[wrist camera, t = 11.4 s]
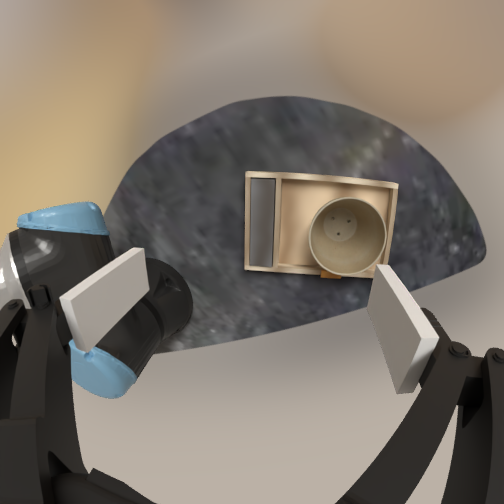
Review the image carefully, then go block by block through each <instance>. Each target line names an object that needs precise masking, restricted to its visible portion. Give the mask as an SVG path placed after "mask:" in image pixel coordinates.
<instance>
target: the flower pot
mask: <svg viewBox="0 0 504 504" xmlns="http://www.w3.org/2000/svg"><path fill="white" fill-rule="evenodd" d="M332 219H333V220H332ZM348 220H349V221H348ZM339 233H340V235H339ZM386 238H387V231H386V225H385V222H384V219H383V217H382V215H381V214H380V212H379V211H378V210H377V209H376V208H375V207H374V206H373V205H372V204H370V203H369V202H367V201H365V200H363V199H360V198H355V197H341V198H336V199H334V200H331V201H329V202H328V203H326V204H325V205H323V206H322V207H321V208H320V209H319V210H318V212H317V213H316V214H315V216H314V218H313V220H312V222H311V225H310V229H309V247H310V250H311V253H312V255H313V257H314V259H315V260H316V261H317V263H318V264H319V265H320V266H321V267H323V268H324V269H325V270H327V271H329V272H331V273H333V274H337V275H343V276H348V275H355V274H358V273H361V272H363V271H365V270H367V269H369V268H370V267H371V266H372V265H374V264H375V263H376V261H377V260H378V259H379V258H380V256H381V254H382V252H383V250H384V248H385V244H386Z"/></svg>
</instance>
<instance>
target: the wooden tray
mask: <svg viewBox="0 0 504 504" xmlns="http://www.w3.org/2000/svg"><path fill="white" fill-rule="evenodd" d="M397 194H398V184H396V183H393V182H385V181H377V180H369V179H360V178H351V177H341V176H330V175H317V174H302V173H284V172H259V171H247V172H246V183H245V270H257V271H271V272H285V273H299V274H314V275H321V278H337V279H341V276H343V275H337V274H333V273H331V272H329V271H327V270H325V269H324V268H323V267H321V266H320V265H319V264H318V263H317V261H316V260H315V259H314V257H313V255H312V253H311V250H310V247H309V229H310V225H311V222H312V220H313V218H314V216H315V214H316V213H317V212H318V210H319V209H320V208H321V207H322V206H323V205H325V204H326V203H328V202H329V201H331V200H334V199H336V198H341V197H355V198H360V199H363V200H365V201H367V202H369V203H370V204H372V205H373V206H374V207H375V208H376V209H377V210H378V211H379V212H380V214H381V215H382V217H383V219H384V222H385V225H386V231H387V238H386V244H385V248H384V250H383V252H382V254H381V256H380V258H379V259H378V260H377V261H376V263H375V264H374V265H372V266H371V267H370V268H369V269H367V270H365V271H363V272H361V273H358V274H355V275H348V276H347V277H364V278H374V273H375V267H376V264H381V265H387V263H388V258H389V252H390V246H391V240H392V234H393V227H394V220H395V212H396V203H397ZM332 220H333V219H332ZM348 221H349V220H348ZM339 235H340V233H339Z"/></svg>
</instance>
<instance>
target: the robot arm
mask: <svg viewBox="0 0 504 504" xmlns="http://www.w3.org/2000/svg"><path fill="white" fill-rule="evenodd" d="M17 227H19V229H17V230H15V231H13V232H10V233H8V234H7V236H6V238H5V241H4V243H3V245H2V248H1V249H0V504H156V503H154V502H152V501H150V500H149V499H147V498H146V497H144V496H143V495H141V494H140V493H138V492H137V491H135V490H134V489H132V488H131V487H129V486H128V485H127V484H125V483H124V482H122V481H120V480H117V479H115V478H113V477H111V476H109V475H107V474H104V473H103V472H101V471H98V470H96V469H95V468H93V469H92V470H91V472H90V474H88V472H87V470H86V469H85V467H84V464H83V461H82V457H81V452H80V447H79V441H78V435H77V428H76V421H75V413H74V403H73V392H72V380H73V381H75V382H76V383H77V384H78V385H80V386H81V387H83V388H84V389H86V390H87V391H89V392H91V393H93V394H95V395H98V396H100V397H104V398H110V399H114V398H119V397H121V396H123V395H124V394H125V393H126V392H127V390H128V389H129V388H130V387H131V386H132V384H134V383H135V382H136V380H137V378H138V377H139V375H140V374H141V372H142V370H143V369H144V367H145V366H146V364H147V362H148V361H149V359H150V358H151V356H152V355H153V353H154V352H155V350H156V349H157V347H158V346H159V344H160V343H161V342H162V341H163V340H165V339H166V338H168V337H169V336H170V335H173V334H175V333H177V332H178V331H180V330H181V329H182V328H183V327H184V326H185V324H186V322H187V321H188V319H189V318H190V316H191V313H192V307H193V302H192V296H191V292H190V290H189V287H188V285H187V284H186V282H185V280H184V279H183V278H182V276H181V275H180V274H179V273H178V272H177V271H176V270H175V269H174V268H172V267H171V266H170V265H168V264H166V263H164V262H162V261H160V260H157V259H153V258H145V254H144V248H132V249H130V250H129V251H127V252H126V253H124V254H122V255H121V256H119V257H118V258H116V259H115V256H114V252H113V249H112V245H111V242H110V238H109V235H110V233H109V231H107V228H106V225H105V222H104V219H103V215H102V212H101V210H100V208H99V207H98V206H97V205H96V204H95V203H93V202H77V203H71V204H65V205H59V206H54V207H50V208H46V209H41V210H37V211H35V212H31V213H26V214H23V215H21V216H19V217H18V222H17ZM367 311H368V313H369V316H370V318H371V321H372V323H373V326H374V329H375V331H376V334H377V337H378V339H379V342H380V345H381V348H382V350H383V354H384V356H385V359H386V362H387V365H388V368H389V371H390V374H391V377H392V380H393V384H394V387H395V390H396V393H397V394H403V393H412V392H414V390H415V388H416V386H417V384H418V382H419V383H420V386H421V388H422V389H421V391H420V393H419V394H418V396H417V398H416V400H415V401H414V403H413V405H412V406H411V408H410V410H409V411H408V413H407V415H406V416H405V418H404V419H403V421H402V422H401V424H400V425H399V427H398V429H397V430H396V431H395V433H394V434H393V436H392V437H391V438H390V440H389V441H388V443H387V444H386V446H385V447H384V448H383V449H382V451H381V452H380V453H379V455H378V456H377V457H376V459H375V460H374V461H373V462H372V464H371V465H370V466H369V467H368V468H367V470H366V471H365V472H364V473H363V474H362V476H361V477H360V478H359V479H358V480H357V481H356V482H355V483H354V485H353V486H352V487H351V488H350V489H349V490H348V491H347V492H346V493H345V494H344V495H343V496H342V497H341V498H340V499H339V500H338V501H337V502H336V503H335V504H405V503H406V501H407V500H408V498H409V497H410V495H411V494H412V492H413V491H414V489H415V488H416V486H417V484H418V483H419V481H420V479H421V478H422V476H423V475H424V473H425V471H426V469H427V467H428V466H429V464H430V462H431V460H432V458H433V456H434V454H435V452H436V450H437V448H438V446H439V444H440V442H441V440H442V438H443V436H444V434H445V431H446V429H447V427H448V424H449V422H450V420H451V417H452V415H453V412H454V410H455V407H456V405H458V417H457V427H456V435H455V442H454V449H453V455H452V460H451V466H450V470H449V475H448V479H447V483H446V488H445V491H444V495H443V498H442V502H441V504H504V351H503V350H502V349H499V348H490V349H489V350H488V351H487V352H486V354H485V356H484V358H482V357H475V356H471V352H470V350H469V349H468V348H467V347H466V346H465V345H463V344H461V343H458V342H454V341H451V340H450V338H449V337H448V335H447V334H446V332H445V331H444V329H443V328H442V327H441V325H440V323H439V322H438V321H437V319H436V318H435V316H434V315H433V313H431V312H430V311H429V310H427V309H426V308H420V307H419V306H418V304H417V303H416V302H415V300H414V299H413V297H412V296H411V294H410V293H409V292H408V290H407V289H406V287H405V286H404V285H403V283H402V282H401V281H400V279H399V278H398V277H397V275H396V274H395V273H394V271H393V270H392V269H391V267H390V266H389V265H381V264H376V267H375V273H374V278H373V283H372V288H371V292H370V297H369V301H368V306H367ZM12 335H13V336H14V338H15V340H16V343H17V344H16V346H14V345H13V342H12Z"/></svg>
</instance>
